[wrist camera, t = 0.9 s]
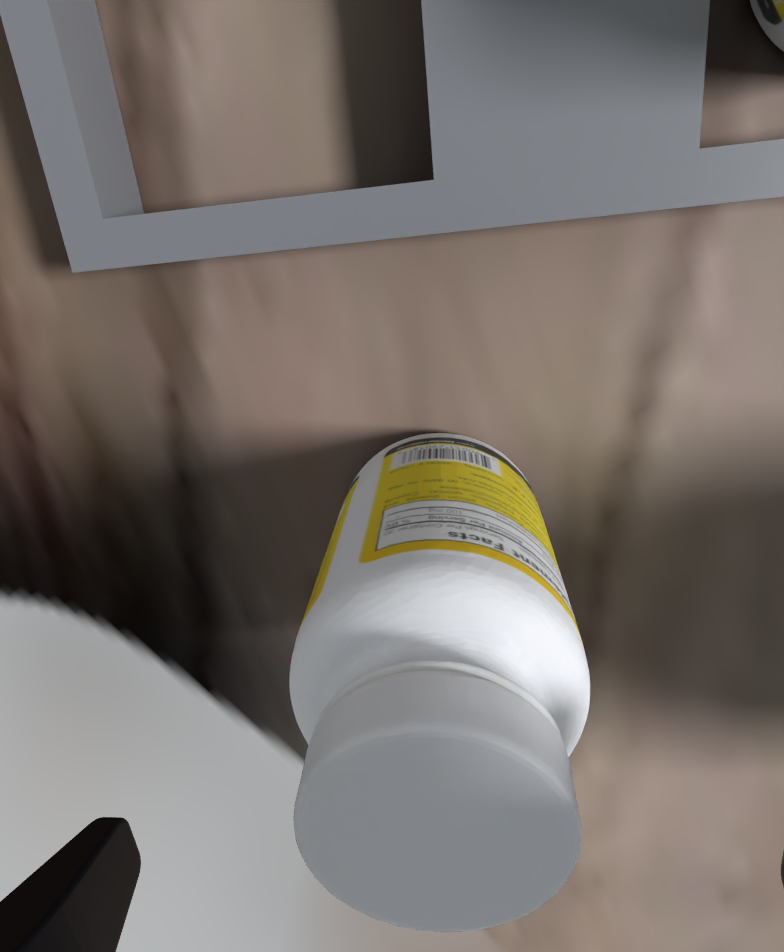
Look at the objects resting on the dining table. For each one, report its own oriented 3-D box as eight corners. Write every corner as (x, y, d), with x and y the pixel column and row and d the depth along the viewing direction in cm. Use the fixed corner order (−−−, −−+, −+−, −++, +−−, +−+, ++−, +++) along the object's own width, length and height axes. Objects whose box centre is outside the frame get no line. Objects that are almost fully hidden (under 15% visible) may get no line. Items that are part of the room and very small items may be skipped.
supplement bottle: (425, 632, 19) (401, 1006, 10) (306, 502, 18) (155, 800, 9) (579, 537, 17) (714, 884, 8) (460, 386, 16) (470, 607, 7)
